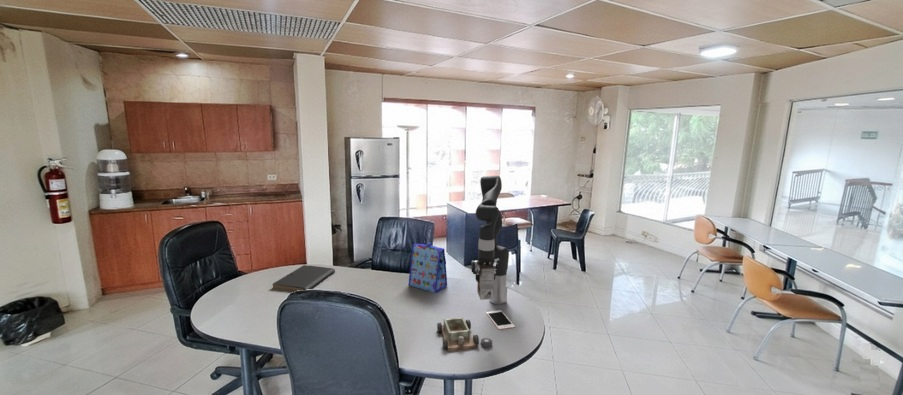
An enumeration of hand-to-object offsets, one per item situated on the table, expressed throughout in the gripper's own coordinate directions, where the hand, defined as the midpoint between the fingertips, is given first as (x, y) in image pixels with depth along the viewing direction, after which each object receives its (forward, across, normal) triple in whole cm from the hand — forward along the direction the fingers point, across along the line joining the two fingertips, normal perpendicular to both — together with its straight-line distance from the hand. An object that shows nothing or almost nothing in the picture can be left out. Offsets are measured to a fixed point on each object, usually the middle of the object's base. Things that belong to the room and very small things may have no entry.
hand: (485, 281), depth 175 cm
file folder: (+29, +95, -86) cm, 131 cm away
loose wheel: (+28, +1, +9) cm, 29 cm away
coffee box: (+8, 0, 0) cm, 8 cm away
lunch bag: (+28, +18, -61) cm, 70 cm away
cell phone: (+28, -13, -12) cm, 33 cm away
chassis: (+28, +13, 0) cm, 31 cm away
